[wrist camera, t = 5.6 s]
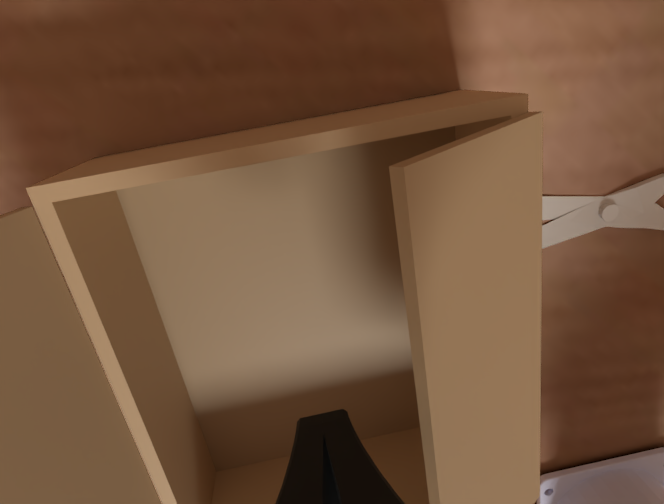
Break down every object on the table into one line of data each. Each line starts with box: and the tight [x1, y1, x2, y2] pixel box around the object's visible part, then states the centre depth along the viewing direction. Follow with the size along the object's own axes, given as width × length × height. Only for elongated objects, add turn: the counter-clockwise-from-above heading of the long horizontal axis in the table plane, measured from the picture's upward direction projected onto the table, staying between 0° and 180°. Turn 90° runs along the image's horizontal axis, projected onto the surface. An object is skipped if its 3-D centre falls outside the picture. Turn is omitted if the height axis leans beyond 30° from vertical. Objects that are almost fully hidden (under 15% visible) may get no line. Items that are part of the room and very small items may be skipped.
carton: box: [26, 90, 528, 504], centre depth 18 cm, size 16×14×5 cm
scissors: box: [542, 173, 664, 249], centre depth 20 cm, size 11×1×20 cm
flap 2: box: [389, 112, 543, 504], centre depth 14 cm, size 15×6×1 cm
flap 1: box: [0, 207, 161, 504], centre depth 12 cm, size 15×6×1 cm
